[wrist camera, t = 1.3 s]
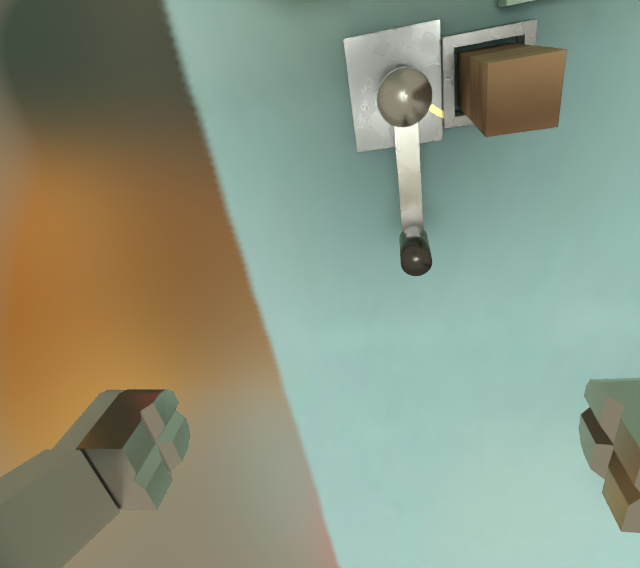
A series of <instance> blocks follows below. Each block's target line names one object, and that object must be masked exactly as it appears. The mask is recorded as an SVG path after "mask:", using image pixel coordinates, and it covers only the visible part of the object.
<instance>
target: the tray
mask: <svg viewBox="0 0 640 568" xmlns="http://www.w3.org/2000/svg"><path fill="white" fill-rule="evenodd" d="M529 1H534V0H499V5H498V8H499V7H504V6H509V5H514V4H519V3H524V2H529Z"/></svg>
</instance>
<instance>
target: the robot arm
mask: <svg viewBox="0 0 640 568" xmlns="http://www.w3.org/2000/svg"><path fill="white" fill-rule="evenodd" d="M584 397H585V399H586V401H587V402H588V404H589V406H590V407H589V408H588V409H587V410H586V411H584V412H583V413H582V414H581V416H580V424H579V433H580V441H581V446H582V449H583V452H584V455H585V458H586V460H587V462H588V464H589V466H590V468H591V469H592V470H593V471H594V472H596V473H597V474H598V475H599V476H601V477H602V478H603V479H605V482H604V486H603V491H602V494H603V496H604V498H605V500H606V502H607V504H608V506H609V508H610V510H611V512H612V514H613V516H614V518H615V520H616V522H617V524H618V526H619V528H620V530H621V532H636V533H640V378H620V379H590V381H589V382H588V383H587V385H586V389H585V394H584ZM178 403H179V402H178V401H177V398H176V396H175V394H174V392H173V391H170V390H166V389H150V390H149V389H127V390H106V391H104V392H102V393H100V394H99V395H98V396H97V397H96V398H95V399H94V401H93V402H92V403H91V404H90V405H89V406H88V408H87V409H86V410H85V411H84V412H83V413H82V415H81V416H80V417H79V418H78V419H77V420H76V422H75V423H74V424H73V425H72V426H71V427H70V429H69V430H68V431H67V432H66V433H65V434H64V436H63V437H62V438H61V439H60V440H59V442H58V443H57V444H56V445H55V446H54V447H53V448H52V449H50V450H44V451H42V452H40V453H39V454H37V455H36V456H34V457H32V458H31V459H29V460H27V461H26V462H24V463H23V464H21V465H19V466H18V467H16V468H14V469H13V470H11V471H10V472H8V473H6V474H5V475H3V476H2V477H0V568H62V567H63V566H64V565H65V564H66V563H67V562H69V561H70V560H71V559H72V558H73V557H74V556H75V555H76V554H77V553H78V552H79V551H80V550H81V549H82V548H83V547H84V546H85V545H86V544H87V543H88V542H89V541H90V540H92V539H93V538H94V537H95V536H96V535H97V534H98V533H99V532H100V531H101V530H102V529H103V528H104V527H105V526H106V525H107V524H108V523H109V522H110V521H112V519H114V518H115V517H116V516H117V515H118V514H119V513H120V511H119V510H158V508H159V506H160V504H161V502H162V500H163V498H164V496H165V494H166V492H167V490H168V488H169V486H170V484H171V482H172V475H171V470H172V469H174V468H175V467H176V466H177V465H179V464H180V463H181V462H182V461H183V459H184V456H185V454H186V452H187V450H188V445H189V440H190V431H189V425H188V423H187V420H186V418H185V417H184V416H183V415H182V414H180V413H179V412H177V411H176V408H177V405H178Z"/></svg>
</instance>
